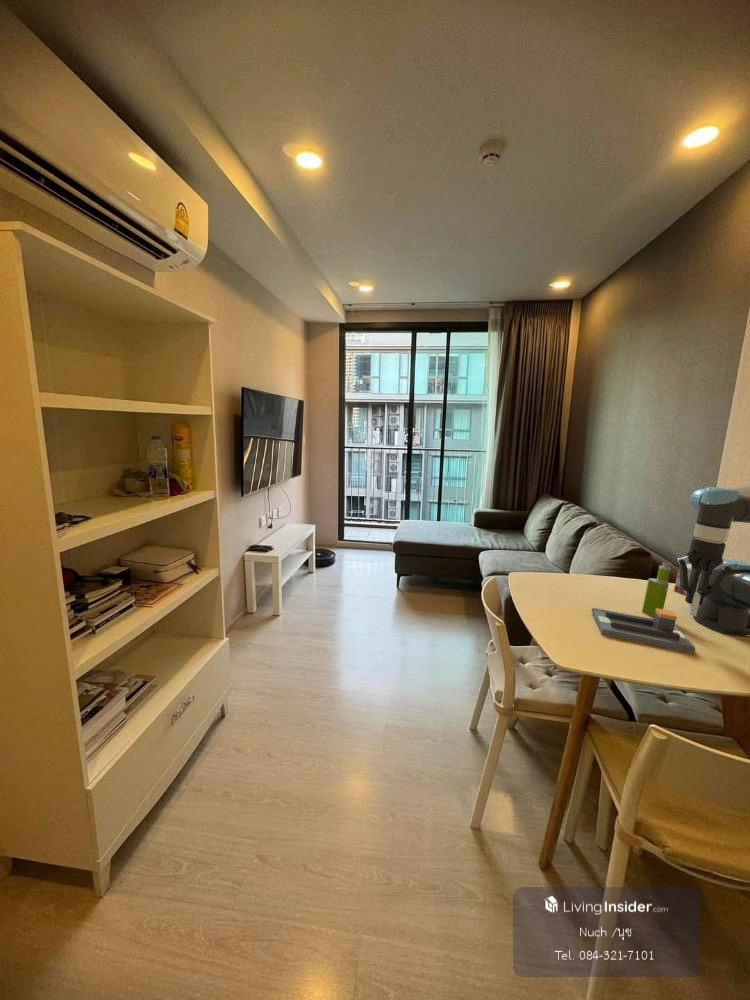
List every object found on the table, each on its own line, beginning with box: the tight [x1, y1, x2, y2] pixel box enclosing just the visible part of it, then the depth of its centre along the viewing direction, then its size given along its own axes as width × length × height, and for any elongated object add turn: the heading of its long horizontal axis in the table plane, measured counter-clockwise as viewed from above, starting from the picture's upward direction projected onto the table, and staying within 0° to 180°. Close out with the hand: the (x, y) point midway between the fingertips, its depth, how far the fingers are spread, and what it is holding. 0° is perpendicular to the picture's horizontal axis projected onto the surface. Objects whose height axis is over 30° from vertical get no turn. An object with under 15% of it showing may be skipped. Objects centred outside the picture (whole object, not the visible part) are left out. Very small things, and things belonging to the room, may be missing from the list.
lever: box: [653, 608, 678, 632], centre depth 117 cm, size 4×4×6 cm
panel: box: [591, 610, 696, 654], centre depth 120 cm, size 24×14×4 cm, turn 70°
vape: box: [641, 561, 672, 618], centre depth 132 cm, size 4×6×20 cm, turn 26°
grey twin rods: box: [591, 607, 654, 620], centre depth 129 cm, size 23×3×1 cm, turn 70°
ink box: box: [673, 563, 702, 596], centre depth 155 cm, size 9×9×12 cm
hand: (690, 613), depth 115 cm, fingers closed
